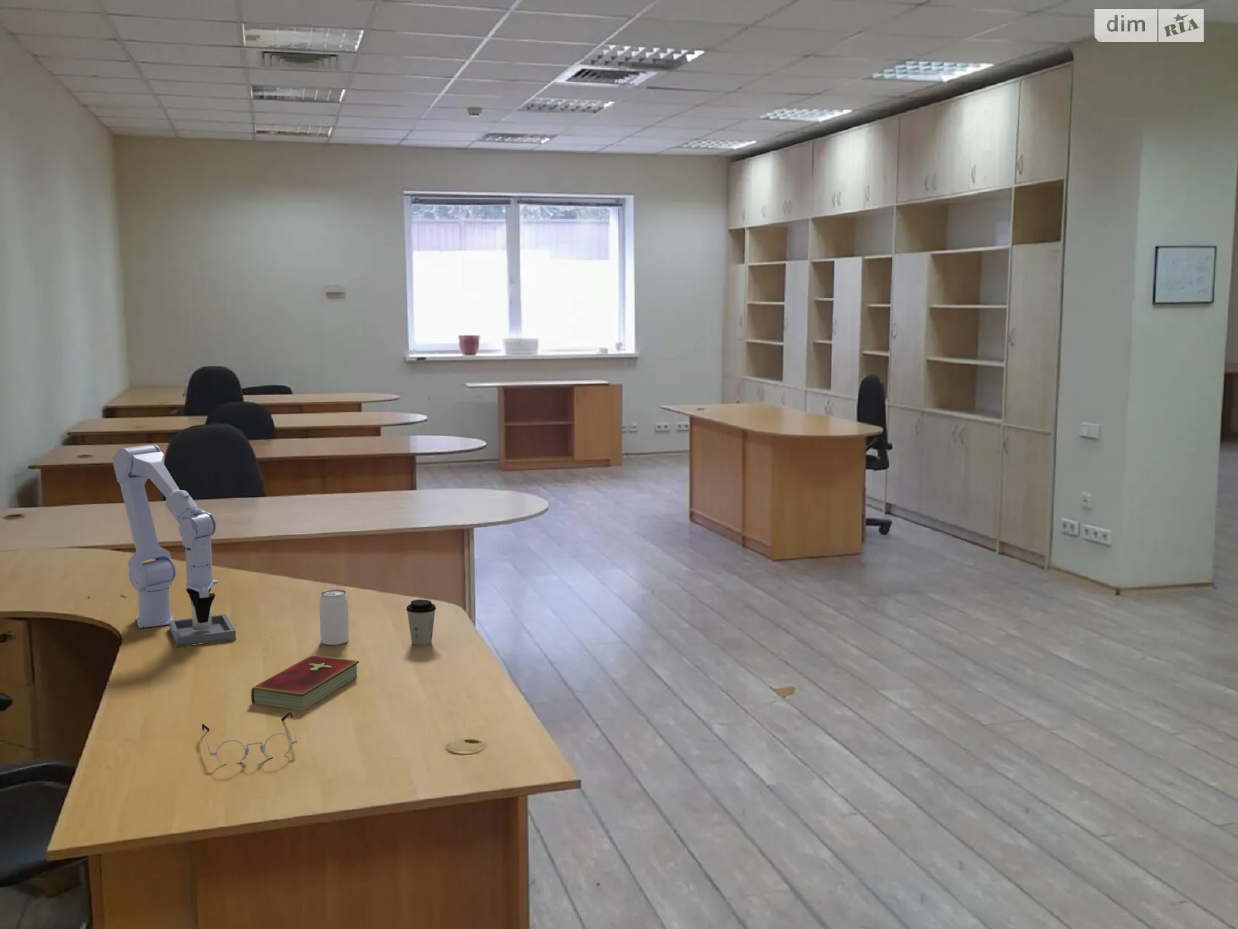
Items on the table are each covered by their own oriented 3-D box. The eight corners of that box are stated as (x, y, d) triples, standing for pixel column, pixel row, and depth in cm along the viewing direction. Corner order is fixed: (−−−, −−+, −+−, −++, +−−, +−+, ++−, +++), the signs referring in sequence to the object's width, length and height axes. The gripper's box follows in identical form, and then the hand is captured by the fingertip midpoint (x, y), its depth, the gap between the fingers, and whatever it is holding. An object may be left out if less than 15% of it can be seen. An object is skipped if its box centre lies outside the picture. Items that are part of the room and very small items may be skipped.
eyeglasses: (207, 772, 186) (205, 745, 185) (201, 732, 203) (199, 707, 202) (302, 758, 192) (302, 731, 192) (289, 720, 209) (288, 696, 208)
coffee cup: (442, 643, 255) (442, 602, 254) (418, 650, 250) (417, 608, 248) (424, 636, 260) (424, 596, 258) (400, 643, 255) (400, 602, 253)
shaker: (190, 626, 259) (189, 598, 258) (210, 623, 262) (209, 595, 261) (194, 631, 256) (192, 602, 254) (214, 628, 258) (213, 600, 257)
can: (341, 647, 251) (340, 597, 249) (315, 645, 253) (314, 595, 251) (353, 638, 258) (352, 590, 256) (328, 636, 259) (327, 588, 257)
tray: (169, 629, 262) (169, 620, 262) (225, 622, 268) (225, 614, 268) (176, 647, 249) (176, 638, 249) (235, 639, 255) (235, 630, 255)
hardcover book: (251, 706, 216) (250, 685, 216) (311, 672, 236) (310, 653, 235) (303, 713, 213) (302, 693, 212) (359, 678, 232) (359, 659, 232)
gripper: (221, 569, 252) (223, 625, 254) (212, 556, 264) (214, 609, 266) (189, 572, 248) (192, 629, 251) (181, 558, 261) (184, 613, 263)
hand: (201, 619), depth 258 cm, fingers closed on shaker, 4 cm apart
